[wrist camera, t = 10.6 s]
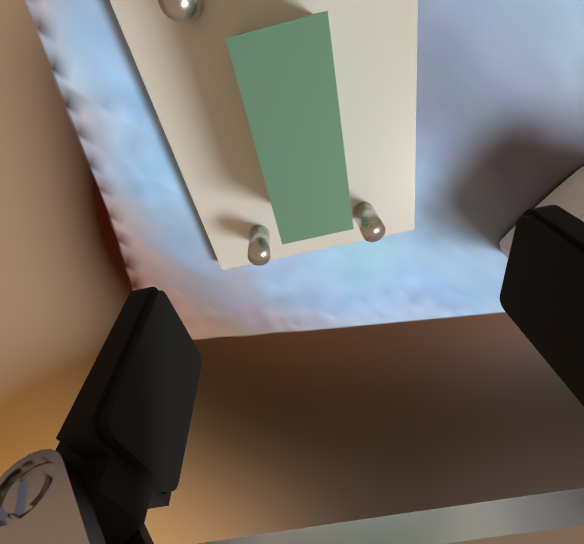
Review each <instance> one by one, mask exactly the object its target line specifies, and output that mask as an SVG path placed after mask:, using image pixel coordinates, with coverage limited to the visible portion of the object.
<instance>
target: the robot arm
mask: <svg viewBox="0 0 584 544" xmlns="http://www.w3.org/2000/svg"><path fill="white" fill-rule="evenodd" d="M500 302H501V305H502V307H503V309H504V310H505V312H506V313H507V314H508V315H509V316H510V317H511V319H512V320H513V321H514V322H515V324H516V325H517V326H518V327H519V328H520V330H521V331H522V332H523V333H524V335H525V336H526V337H527V338H528V339H529V341H530V342H531V343H532V344H533V345H534V347H535V348H536V349H537V350H538V351H539V353H540V354H541V355H542V356H543V358H544V359H545V360H546V361H547V362H548V364H549V365H550V366H551V367H552V368H553V370H554V371H555V372H556V373H557V375H558V376H559V377H560V378H561V379H562V381H563V382H564V383H565V384H566V385H567V387H568V388H569V389H570V390H571V391H572V393H573V394H574V395H575V396H576V398H577V399H578V400H579V401H580V402H581V404H582V405H583V406H584V222H583V221H582V220H580V219H579V218H577V217H575V216H574V215H572V214H571V213H569V212H567V211H566V210H564V209H563V208H561V207H559V206H557V205H548V206H543V207H538V208H533V209H529V210H527V211H525V213H524V214H523V216H522V217H520V218H519V219H518V220H517V222H516V226H515V231H514V235H513V240H512V244H511V249H510V253H509V258H508V262H507V267H506V271H505V275H504V280H503V284H502V289H501V293H500ZM201 363H202V362H201V355H200V352H199V351H198V349H197V347H196V345H195V344H194V342H193V340H192V338H191V337H190V335H189V333H188V332H187V330H186V328H185V326H184V325H183V323H182V321H181V319H180V318H179V316H178V314H177V312H176V311H175V309H174V307H173V306H172V304H171V302H170V300H169V299H168V297H167V295H166V294H165V292H164V291H161V290H160V291H158V289H157V288H155V287H149V288H144V289H139V290H134V291H132V292H131V293H130V294H129V296H128V298H127V300H126V302H125V304H124V306H123V308H122V310H121V312H120V314H119V316H118V318H117V320H116V322H115V324H114V326H113V327H112V329H111V331H110V333H109V335H108V337H107V339H106V341H105V343H104V345H103V347H102V349H101V351H100V353H99V355H98V357H97V359H96V361H95V363H94V365H93V367H92V369H91V371H90V373H89V375H88V377H87V378H86V380H85V382H84V384H83V386H82V388H81V390H80V392H79V394H78V396H77V398H76V400H75V402H74V404H73V406H72V408H71V410H70V412H69V414H68V416H67V418H66V420H65V422H64V424H63V426H62V428H61V430H60V432H59V433H58V436H57V437H56V439H58V440H59V441H60V443H59V445H58V446H57V448H56V450H52V449H45V450H39V451H36V452H34V453H31V454H29V455H27V456H26V457H24V458H22V459H21V460H19V461H18V462H16V463H15V464H14V465H13V466H11V467H10V468H9V469H8V470H7V471H6V472H5V473H4V474H3V475H2V476H1V477H0V544H154V543H153V541H152V539H151V536H150V534H149V532H148V530H147V528H146V526H145V524H144V521H145V517H146V513H147V509H150V508H155V507H163V506H169V501H170V496H171V491H174V490H175V489H176V488H177V486H178V482H179V478H180V473H181V468H182V463H183V457H184V452H185V447H186V442H187V437H188V432H189V427H190V421H191V416H192V411H193V406H194V401H195V395H196V390H197V385H198V380H199V375H200V369H201ZM200 544H584V488H583V489H575V490H569V491H561V492H553V493H546V494H539V495H532V496H525V497H517V498H510V499H503V500H496V501H489V502H482V503H475V504H468V505H461V506H454V507H447V508H440V509H433V510H426V511H419V512H411V513H405V514H398V515H391V516H384V517H377V518H370V519H363V520H357V521H349V522H342V523H335V524H328V525H321V526H315V527H308V528H301V529H294V530H288V531H281V532H274V533H267V534H261V535H254V536H247V537H241V538H233V539H227V540H220V541H214V542H206V543H200Z"/></svg>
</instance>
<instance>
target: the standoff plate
mask: <svg viewBox="0 0 584 544" xmlns="http://www.w3.org/2000/svg"><path fill="white" fill-rule="evenodd" d="M110 3H111V5H112V7H113V10H114V12H115V14H116V17H117V19H118V22H119V24H120V26H121V29H122V31H123V34H124V36H125V38H126V41H127V43H128V46H129V48H130V50H131V53H132V55H133V58H134V60H135V62H136V65H137V67H138V70H139V72H140V74H141V77H142V79H143V82H144V84H145V86H146V89H147V91H148V94H149V96H150V98H151V101H152V103H153V106H154V108H155V110H156V113H157V115H158V117H159V120H160V122H161V125H162V127H163V129H164V132H165V134H166V137H167V139H168V141H169V144H170V146H171V149H172V151H173V153H174V156H175V158H176V161H177V163H178V165H179V168H180V170H181V173H182V175H183V177H184V180H185V182H186V185H187V187H188V189H189V192H190V194H191V197H192V199H193V201H194V204H195V206H196V209H197V211H198V213H199V216H200V218H201V221H202V223H203V225H204V228H205V230H206V232H207V235H208V237H209V240H210V242H211V244H212V247H213V249H214V252H215V254H216V256H217V259H218V261H219V264H220V266H221V268H222V270H225V269H229V268H234V267H239V266H244V265H249V264H254V265H264V264H266V263H267V262H268V261H269V260H272V259H277V258H282V257H287V256H292V255H296V254H301V253H306V252H311V251H315V250H320V249H325V248H330V247H335V246H339V245H344V244H349V243H354V242H358V241H363V240H366V241H369V242H375V241H378V240H380V239H381V238H382V237H383V236H387V235H392V234H397V233H401V232H406V231H411V230H414V212H415V145H416V78H417V12H418V0H110ZM324 11H328V18H329V26H330V35H331V43H332V52H333V60H334V68H335V77H336V85H337V93H338V102H339V110H340V119H341V127H342V135H343V144H344V152H345V161H346V169H347V177H348V186H349V194H350V202H351V211H352V219H353V228H354V229H351V230H347V231H342V232H337V233H333V234H328V235H324V236H319V237H315V238H310V239H305V240H301V241H296V242H292V243H287V244H283V245H282V242H281V238H280V235H279V231H278V227H277V224H276V220H275V216H274V213H273V209H272V206H271V202H270V198H269V195H268V191H267V187H266V184H265V180H264V177H263V173H262V169H261V166H260V162H259V158H258V155H257V151H256V148H255V144H254V140H253V137H252V133H251V129H250V126H249V122H248V119H247V115H246V111H245V108H244V104H243V100H242V97H241V93H240V90H239V86H238V82H237V79H236V75H235V71H234V68H233V64H232V61H231V57H230V53H229V50H228V46H227V42H226V39H225V38H228V37H231V36H233V35H237V34H241V33H244V32H248V31H252V30H255V29H259V28H263V27H266V26H270V25H274V24H278V23H281V22H285V21H289V20H292V19H296V18H300V17H303V16H307V15H311V14H315V13H319V12H324Z"/></svg>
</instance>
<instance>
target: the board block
mask: <svg viewBox="0 0 584 544" xmlns="http://www.w3.org/2000/svg"><path fill="white" fill-rule="evenodd" d="M225 39H226V42H227V46H228V50H229V53H230V57H231V61H232V64H233V68H234V71H235V75H236V79H237V82H238V86H239V90H240V93H241V97H242V100H243V104H244V108H245V111H246V115H247V119H248V122H249V126H250V129H251V133H252V137H253V140H254V144H255V148H256V151H257V155H258V158H259V162H260V166H261V169H262V173H263V177H264V180H265V184H266V187H267V191H268V195H269V198H270V202H271V206H272V209H273V213H274V216H275V220H276V224H277V227H278V231H279V235H280V238H281V242H282V245H283V244H287V243H292V242H296V241H301V240H305V239H310V238H315V237H319V236H324V235H328V234H333V233H337V232H342V231H347V230H351V229H354V228H353V219H352V211H351V202H350V194H349V186H348V177H347V169H346V161H345V152H344V144H343V135H342V127H341V119H340V110H339V102H338V93H337V85H336V77H335V68H334V60H333V52H332V43H331V35H330V26H329V18H328V11H324V12H319V13H315V14H311V15H307V16H303V17H300V18H296V19H292V20H289V21H285V22H281V23H278V24H274V25H270V26H266V27H263V28H259V29H255V30H252V31H248V32H244V33H241V34H237V35H233V36H231V37H228V38H225Z"/></svg>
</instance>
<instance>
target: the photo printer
mask: <svg viewBox="0 0 584 544" xmlns="http://www.w3.org/2000/svg"><path fill="white" fill-rule="evenodd" d="M548 205H557V206H559V207H561V208H563V209H564V210H566V211H567V212H569V213H571V214H572V215H574V216H575V217H577V218H579V219H580V220H582V221H583V222H584V166H583V167H582V168H580V169H579V170H577V171H576V172H575V173H573V174H572V175H571V176H570V177H569V178H568V179H566V180H565V181H564V182H563V183H562V184H561V185H559V186H558V187H557V188H556V189H555V190H554V191H553V192H551V193H550V194H549V195H548V196H547V197H546V198H545V199H544V200H542V201H541V202H540V203H539V204H538V205H537V206H536V207H535V208H538V207H543V206H548ZM515 226H516V225H515ZM515 226H514V227H513V228H512V229H511V230H510V231H509V232H508V233H507V234H506V235H505V236H504V237H503V238H502V240H501V241H500V248H501V251H502V252H503V254H504V255H505V256H507V257H508V258H509V253H510V249H511V244H512V240H513V235H514V231H515Z"/></svg>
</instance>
